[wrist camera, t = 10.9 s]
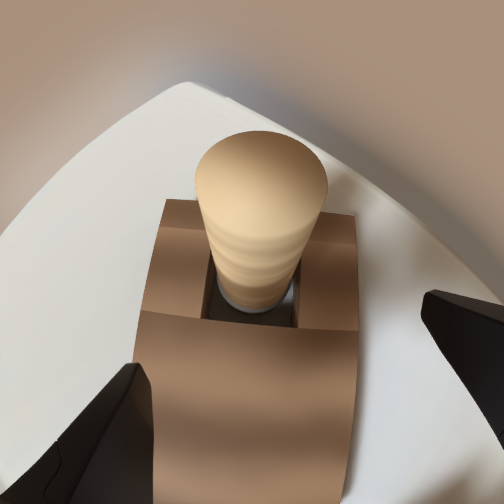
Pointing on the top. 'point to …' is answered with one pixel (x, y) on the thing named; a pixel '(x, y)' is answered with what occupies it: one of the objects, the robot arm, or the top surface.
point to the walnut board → (249, 373)
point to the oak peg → (258, 213)
